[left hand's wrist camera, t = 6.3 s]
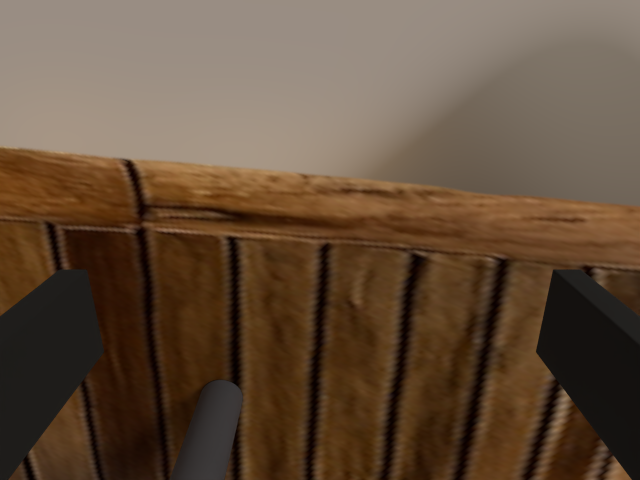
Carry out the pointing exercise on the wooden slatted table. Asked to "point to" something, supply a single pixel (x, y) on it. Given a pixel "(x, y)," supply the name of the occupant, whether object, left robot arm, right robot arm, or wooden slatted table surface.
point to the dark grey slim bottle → (210, 433)
